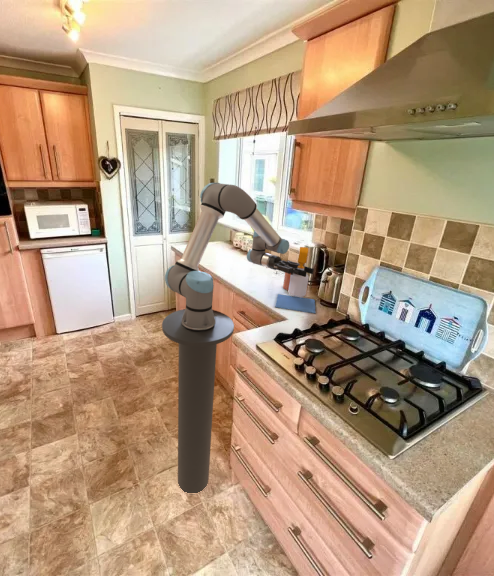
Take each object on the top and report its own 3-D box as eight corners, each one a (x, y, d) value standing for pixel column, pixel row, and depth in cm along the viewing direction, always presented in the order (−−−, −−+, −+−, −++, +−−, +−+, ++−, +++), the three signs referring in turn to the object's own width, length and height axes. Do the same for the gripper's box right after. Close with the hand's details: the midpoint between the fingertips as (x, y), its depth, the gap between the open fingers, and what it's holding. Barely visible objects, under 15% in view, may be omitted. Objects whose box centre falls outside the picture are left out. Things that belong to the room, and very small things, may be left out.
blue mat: (275, 307, 155) (275, 306, 155) (278, 294, 172) (278, 294, 172) (315, 313, 151) (315, 313, 151) (314, 300, 168) (314, 299, 167)
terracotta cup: (282, 289, 179) (284, 273, 176) (283, 285, 187) (285, 269, 183) (296, 291, 178) (299, 275, 174) (297, 286, 185) (299, 271, 182)
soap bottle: (305, 291, 163) (313, 246, 154) (305, 298, 155) (313, 251, 146) (288, 289, 165) (295, 244, 156) (287, 295, 156) (294, 249, 147)
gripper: (280, 265, 174) (317, 276, 160) (260, 271, 161) (298, 284, 146) (282, 252, 171) (320, 262, 157) (261, 257, 158) (300, 269, 144)
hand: (309, 272), depth 152 cm, fingers closed on soap bottle, 6 cm apart
